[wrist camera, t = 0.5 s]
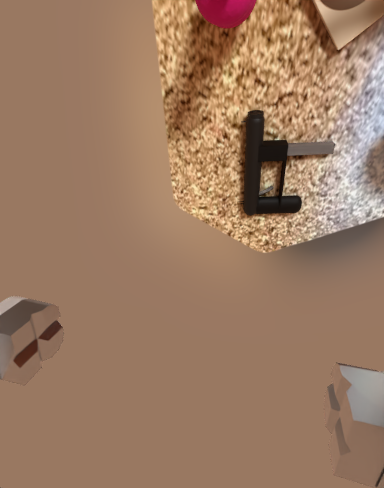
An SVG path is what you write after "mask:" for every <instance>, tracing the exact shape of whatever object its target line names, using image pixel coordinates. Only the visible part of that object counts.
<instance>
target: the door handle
mask: <svg viewBox="0 0 384 488" xmlns="http://www.w3.org/2000/svg"><path fill="white" fill-rule="evenodd" d="M263 115H264V112H263V111H260V110H254V111H249V112H248V117H247V120H246V121H242V122H246V146H245V176H244V201H239V202H244V203H241V204H244V207H243V209H244V212H245V213H246V214H247V215H254V214H272V213H296V212H298V211H299V210H300V208H301V205H302V201H301V198H300V197H299V196H282V192H283V184H284V176H285V169H286V161H287V156H295V155H315V154H333V151H334V146H335V144H334V143H333V142H309V143H287V141H286V140H270V141H263V134H264V116H263ZM264 161H282V169H281V178H280V187H279V195H278V196H271V197H259V195H261V194H264V193H267V192H269V191H270V190H272V189H273V186H270V187H269V188H267V189H266V190H263V191H261V192H259V191H260V177H261V163H262V162H264Z"/></svg>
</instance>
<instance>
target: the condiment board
mask: <svg viewBox="0 0 384 488" xmlns="http://www.w3.org/2000/svg"><path fill="white" fill-rule="evenodd" d="M312 1H313V3H314V5H315V7H316V9H317V11H318V13H319V15H320V17H321V19H322V22H323V24H324V26H325V28H326V30H327V32H328V34H329V36H330V38H331V40H332V42H333V44H334V46H335V48H336V49H337V50H339V49H341V48H342V47H343V46H344V45H346V44H347V43H348V42H350V41H351V40H352V39H354V38H355V37H356V36H357V35H359V34H360V33H361V32H363V31H364V30H365V29H366V28H368V27H369V26H370V25H372V24H373V23H374V22H375V21H377V20H378V19H379V18H381V17H382V16H383V15H384V0H312Z"/></svg>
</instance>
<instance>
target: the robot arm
mask: <svg viewBox="0 0 384 488" xmlns="http://www.w3.org/2000/svg"><path fill="white" fill-rule="evenodd" d="M59 317H60V312H59V308H58V307H57V306H56V305H53V304H50V303H45V302H41V301H37V300H32V299H26V298H22V297H18V296H12V297H9V298H7V299H6V300H4V301H2V302H1V303H0V379H1V380H6V381H9V382H13V383H17V384H21V385H26V384H27V383H28V381H29V380H30V379H31V378H32V377H33V376H34V375H35V374H36V373H37V372H38V371H39V370H40V369H41V368H42V362H43V361H44V360H47V359H49V358H51V357H52V356H53V355H54V354H55V353H56V352H57V351H58V350H59V348H60V346H61V344H62V342H63V336H64V332H63V327H62V326H61V324H60V323H59V322H58V321H57V320H58V319H59ZM331 376H332V381H333V384H331V385H329V386H328V387H327V390H326V394H325V401H324V417H325V425H326V428H327V429H328V430H329V431H330V433H331V434H332V436H331V439H330V442H329V450H330V455H331V462H332V468H333V474H334V475H335V476H338V477H341V478H345V479H348V480H351V481H354V482H357V483H360V484H364V485H367V486H370V487H373V488H384V371H377V370H372V369H367V368H362V367H357V366H351V365H347V364H342V363H337V362H336V363H335V365H334V366H333V369H332V373H331ZM0 488H1V487H0Z"/></svg>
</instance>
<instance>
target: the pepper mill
mask: <svg viewBox="0 0 384 488" xmlns="http://www.w3.org/2000/svg"><path fill="white" fill-rule="evenodd" d="M195 1H196V4H197V7H198V9H199V11H200V13H201V14H202V16H203V17H204V18H205V19H206V20H207V21H208V22H210V23H211V24H214V25H216V26H218V27H221V28H233V27H236V26H238V25H240V24H241V23H242V22H244V21H245V20H246V19H247V18H248V16H249V15H250V14H251V12H252V10H253V8H254V6H255V3H256V0H195Z"/></svg>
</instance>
